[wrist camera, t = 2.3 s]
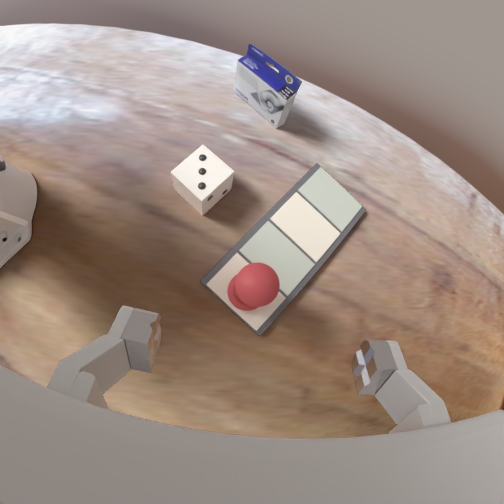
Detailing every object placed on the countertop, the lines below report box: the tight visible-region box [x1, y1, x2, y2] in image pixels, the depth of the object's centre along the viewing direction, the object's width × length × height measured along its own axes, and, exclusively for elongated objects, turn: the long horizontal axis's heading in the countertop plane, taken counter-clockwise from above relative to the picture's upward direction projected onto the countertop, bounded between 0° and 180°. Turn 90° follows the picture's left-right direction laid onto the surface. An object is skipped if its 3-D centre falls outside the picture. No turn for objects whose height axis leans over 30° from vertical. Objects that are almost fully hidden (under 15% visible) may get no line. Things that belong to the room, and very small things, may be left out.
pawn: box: [227, 262, 280, 311], centre depth 36 cm, size 5×5×10 cm
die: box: [171, 145, 234, 216], centre depth 41 cm, size 6×6×6 cm
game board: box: [201, 163, 366, 336], centre depth 43 cm, size 26×11×1 cm, turn 137°
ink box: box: [234, 43, 302, 128], centre depth 43 cm, size 12×2×12 cm, turn 43°
